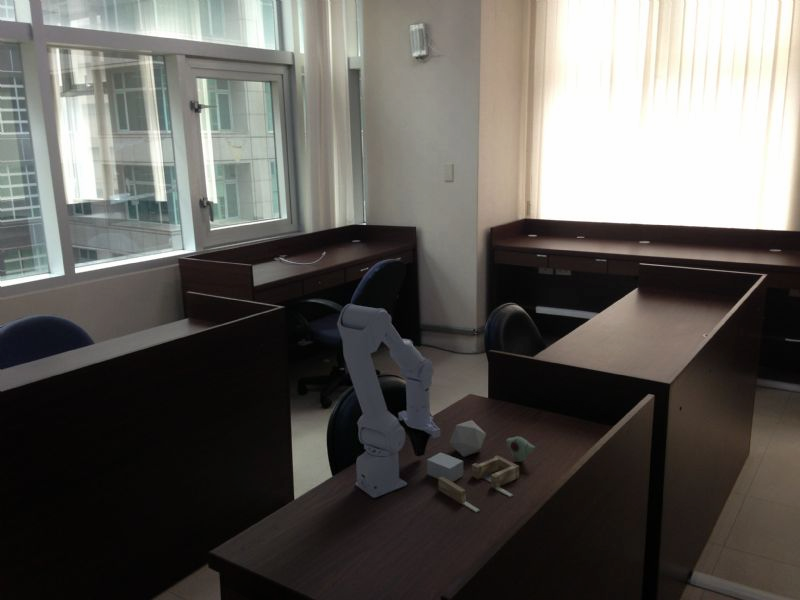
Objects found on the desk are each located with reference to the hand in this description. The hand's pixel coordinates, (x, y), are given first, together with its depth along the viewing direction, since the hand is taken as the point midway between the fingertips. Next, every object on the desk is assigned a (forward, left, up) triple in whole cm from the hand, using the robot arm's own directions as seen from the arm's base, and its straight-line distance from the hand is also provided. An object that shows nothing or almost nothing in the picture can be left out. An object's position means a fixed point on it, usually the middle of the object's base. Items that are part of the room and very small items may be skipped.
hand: (419, 454), depth 170 cm
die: (+12, -4, -2) cm, 13 cm away
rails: (0, -25, -1) cm, 25 cm away
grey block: (0, -10, -2) cm, 10 cm away
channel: (+3, -19, -1) cm, 19 cm away
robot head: (+18, -16, -2) cm, 24 cm away
